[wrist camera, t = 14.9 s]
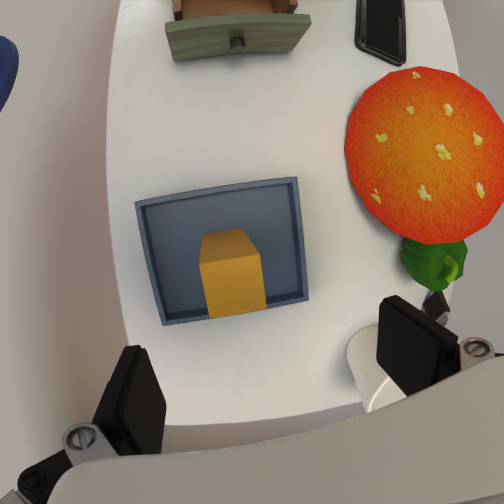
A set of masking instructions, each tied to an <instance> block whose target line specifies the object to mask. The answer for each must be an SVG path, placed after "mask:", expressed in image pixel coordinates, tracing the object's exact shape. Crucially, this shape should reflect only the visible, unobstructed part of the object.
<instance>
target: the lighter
mask: <svg viewBox="0 0 504 504" xmlns="http://www.w3.org/2000/svg"><path fill="white" fill-rule="evenodd" d="M423 305H424V308H425V310H426V313H427V315H428V316H429V317H431V318H432V319H433V320H435V321H436V322H438V323H439V324H441V325H442V326H445V325H446V324H447V321H448V317H447V315H448V314H449V313H450V309H449V306H448V304H447V302H446V300H445V297H444V294H443V292H442V291H438V292H434V293H433V294H432V295H431V296H430V297H429V298H428V300H427V301H426V302H425V303H424V304H423Z"/></svg>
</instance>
